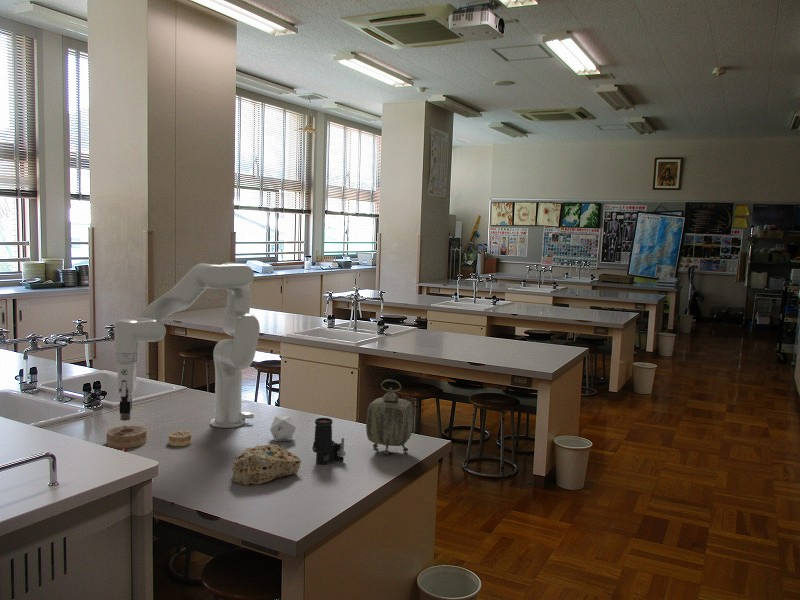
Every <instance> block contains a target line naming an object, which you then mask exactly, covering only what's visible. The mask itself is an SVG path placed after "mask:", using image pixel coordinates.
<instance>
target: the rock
mask: <svg viewBox="0 0 800 600" xmlns="http://www.w3.org/2000/svg"><path fill="white" fill-rule="evenodd" d="M232 463H233V466H232V469H231V470H232V472H233V473H232V478H231V479H232V482H234V483H238V484H240V485H245V486H249V484H252V485H260V484H261V485H262V484H264V483H267V482H271V481H274V480H277V479H280V478H282V477H284V476H291V475H295V474H298V472H299V470H300V468H301V467H300V466H301V463H302V460H301V458H300V457H298V456H297V455H295V454H293V453H292V452H290V451H288V449H285V448H284V447H283V446H282V444H281V445H280V444H273V443H271V444H265V445H258V444H257V445H255V446H254V447H246V448H245V449H244V450H243V451H241V452H240V453H239V454H237V455H236V456H235V457H234V460H233V461H232Z"/></svg>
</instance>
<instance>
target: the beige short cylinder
mask: <svg viewBox="0 0 800 600" xmlns="http://www.w3.org/2000/svg"><path fill="white" fill-rule="evenodd" d="M191 444H192V431H188V430H176V431H172V432H170V433H168V446H173V447H184V446H188V445H191Z"/></svg>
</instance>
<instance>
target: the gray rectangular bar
mask: <svg viewBox="0 0 800 600" xmlns="http://www.w3.org/2000/svg"><path fill="white" fill-rule="evenodd" d="M126 392H128V390H126ZM126 395H127V396H128V394H126ZM131 398H132V393H131V392H130V400H129V401H130V413H129V414H120V413H119V420H120V421H125V422H126V421H130V420H131V419H132V418H131V411H132V409H131Z"/></svg>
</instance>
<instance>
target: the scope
mask: <svg viewBox="0 0 800 600" xmlns="http://www.w3.org/2000/svg"><path fill="white" fill-rule="evenodd" d="M314 423H315V427H314V441H313V443H312V445H313V446H312V451H313V453H315V456H316V457H315V459H316V460H315V464H317V465H319V466H325V465H329V464H330V463H333V462H338V461H339V462H338V463H340V462H342V461H344V457H345V456H346V451H345V450H344V449H345V438H344V437H341V438H340V439H341V442H339V443H338V442H335V440H333V428H332V427H333V426H332V425H333V419H332V418H331V417H330V418H329V417H318V418H316V419H315V420H314ZM332 461H333V462H332Z"/></svg>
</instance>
